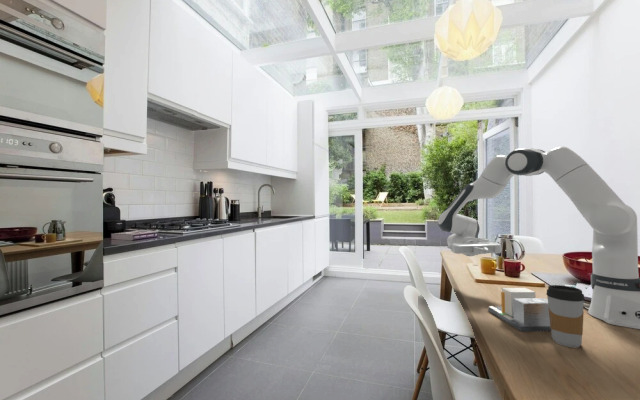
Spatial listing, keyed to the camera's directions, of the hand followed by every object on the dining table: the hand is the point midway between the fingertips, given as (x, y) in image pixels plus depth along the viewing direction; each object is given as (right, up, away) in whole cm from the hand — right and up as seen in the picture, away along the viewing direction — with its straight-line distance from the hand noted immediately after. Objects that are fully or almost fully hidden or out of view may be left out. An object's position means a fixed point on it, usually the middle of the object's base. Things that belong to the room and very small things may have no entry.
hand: (485, 251), depth 122 cm
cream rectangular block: (-1, -18, -21) cm, 27 cm away
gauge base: (0, -19, -23) cm, 30 cm away
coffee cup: (+1, -19, -39) cm, 43 cm away
